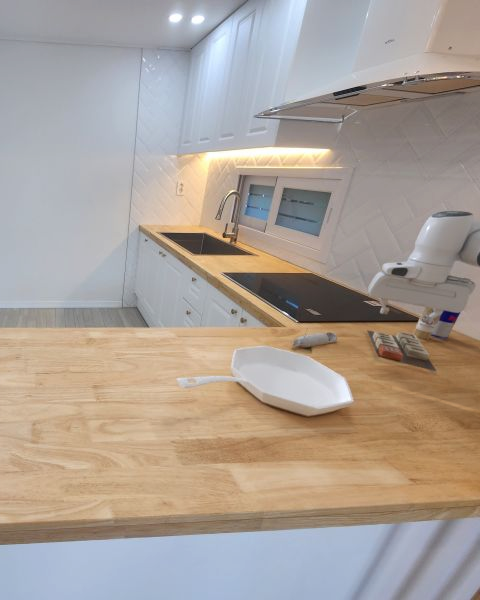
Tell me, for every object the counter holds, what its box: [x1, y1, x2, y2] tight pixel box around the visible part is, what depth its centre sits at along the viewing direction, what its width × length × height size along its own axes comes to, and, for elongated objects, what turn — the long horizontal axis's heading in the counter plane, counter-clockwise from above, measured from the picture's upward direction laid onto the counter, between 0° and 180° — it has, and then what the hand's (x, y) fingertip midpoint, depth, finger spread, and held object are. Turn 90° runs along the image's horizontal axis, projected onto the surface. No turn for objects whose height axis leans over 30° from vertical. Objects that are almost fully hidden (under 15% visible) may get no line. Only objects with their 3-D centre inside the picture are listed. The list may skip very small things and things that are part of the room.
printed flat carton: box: [395, 331, 430, 361], centre depth 106 cm, size 4×16×2 cm, turn 148°
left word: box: [373, 331, 399, 349], centre depth 107 cm, size 4×10×2 cm, turn 148°
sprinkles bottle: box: [411, 307, 444, 341], centre depth 113 cm, size 5×5×13 cm
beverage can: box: [430, 311, 461, 340], centre depth 114 cm, size 6×6×15 cm
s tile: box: [378, 345, 403, 361], centre depth 101 cm, size 4×4×2 cm
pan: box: [176, 345, 355, 418], centre depth 81 cm, size 25×44×6 cm, turn 107°
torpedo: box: [291, 327, 338, 349], centre depth 105 cm, size 18×5×6 cm, turn 110°
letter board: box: [366, 329, 437, 372], centre depth 106 cm, size 13×22×1 cm, turn 148°
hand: (404, 317), depth 97 cm, fingers open, 8 cm apart
